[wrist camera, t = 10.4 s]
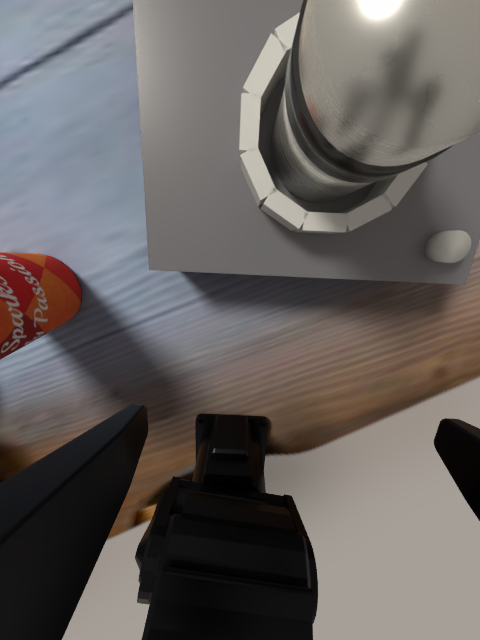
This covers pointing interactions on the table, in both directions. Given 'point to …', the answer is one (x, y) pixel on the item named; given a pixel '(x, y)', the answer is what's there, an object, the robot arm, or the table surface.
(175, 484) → the robot arm
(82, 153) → the table surface
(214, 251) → the camera body
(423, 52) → the lens
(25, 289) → the paper cup
